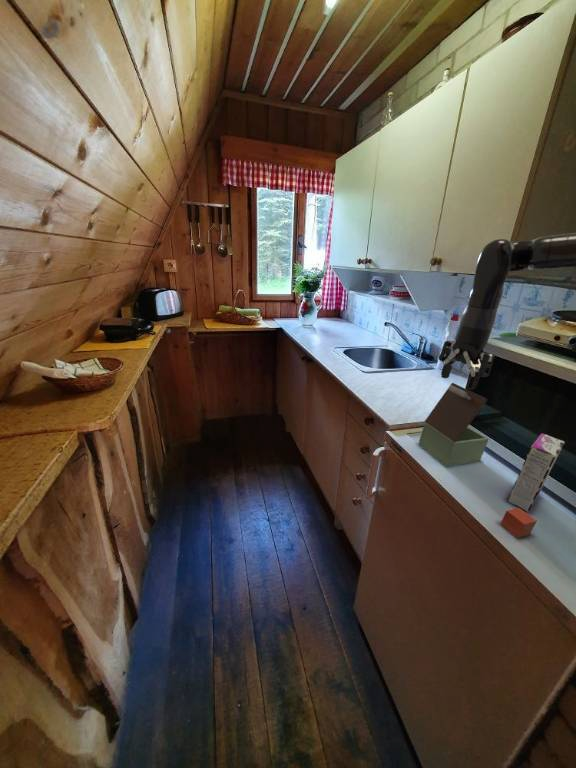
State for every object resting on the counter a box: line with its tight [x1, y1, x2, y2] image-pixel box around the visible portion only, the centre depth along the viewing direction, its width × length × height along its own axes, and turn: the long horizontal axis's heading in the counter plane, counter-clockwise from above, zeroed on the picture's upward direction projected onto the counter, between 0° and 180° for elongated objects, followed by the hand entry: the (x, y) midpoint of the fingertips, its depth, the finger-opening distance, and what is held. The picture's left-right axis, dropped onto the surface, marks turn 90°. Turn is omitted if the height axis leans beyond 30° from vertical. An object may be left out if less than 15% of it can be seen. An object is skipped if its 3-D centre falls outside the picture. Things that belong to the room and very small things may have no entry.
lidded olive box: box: [417, 422, 490, 467], centre depth 94 cm, size 14×12×8 cm
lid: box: [424, 382, 488, 442], centre depth 88 cm, size 14×12×5 cm
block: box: [500, 506, 538, 539], centre depth 67 cm, size 4×4×4 cm
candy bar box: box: [507, 433, 565, 513], centre depth 76 cm, size 11×5×16 cm, turn 131°
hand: (456, 383), depth 85 cm, fingers open, 8 cm apart
